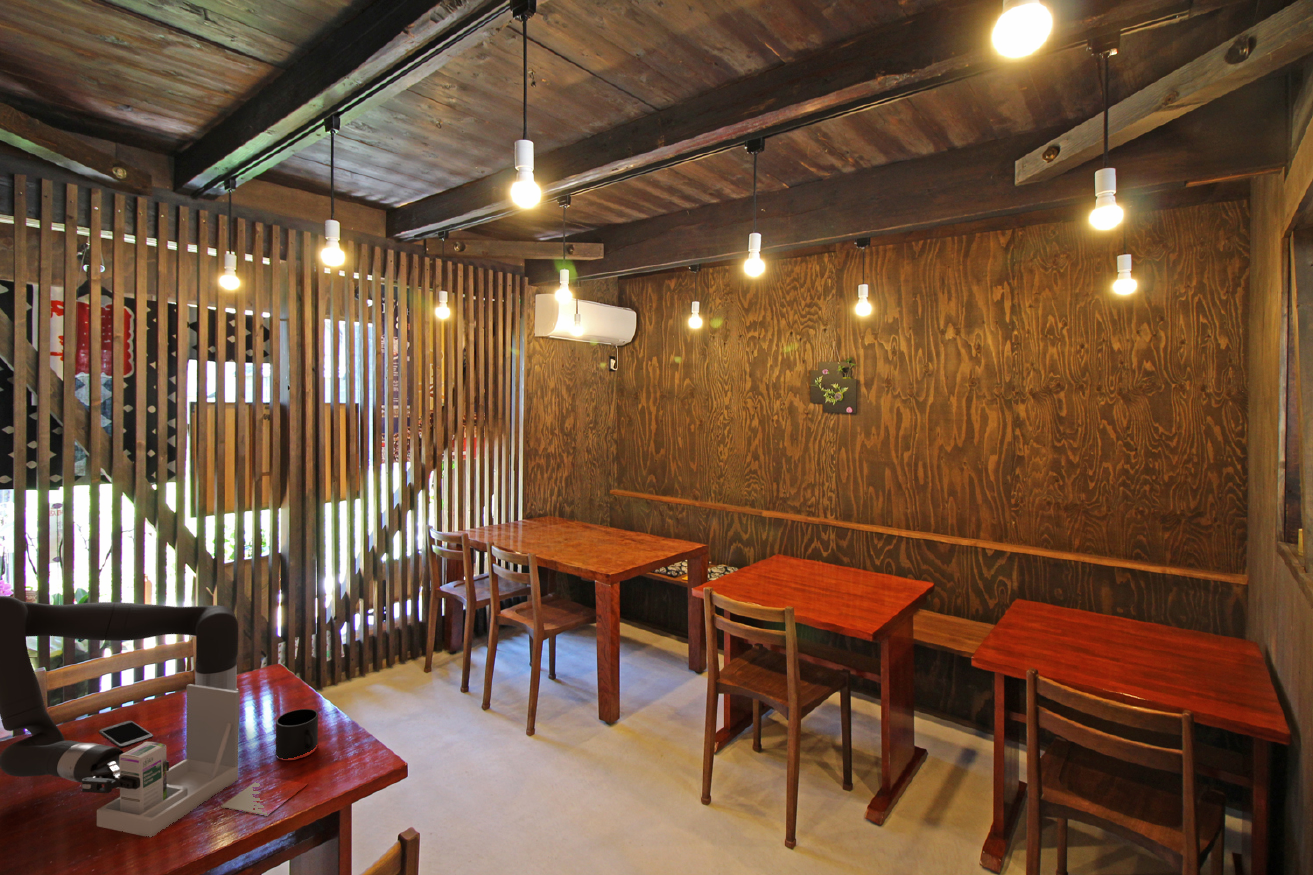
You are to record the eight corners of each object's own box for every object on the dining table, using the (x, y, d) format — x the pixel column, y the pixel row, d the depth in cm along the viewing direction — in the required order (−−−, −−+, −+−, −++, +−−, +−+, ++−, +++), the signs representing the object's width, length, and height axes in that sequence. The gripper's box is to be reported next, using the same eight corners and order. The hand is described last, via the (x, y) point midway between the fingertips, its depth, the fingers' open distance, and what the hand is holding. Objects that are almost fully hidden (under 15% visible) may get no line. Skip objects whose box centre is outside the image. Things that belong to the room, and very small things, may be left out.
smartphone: (131, 721, 175) (131, 718, 174) (155, 737, 167) (155, 734, 167) (97, 733, 168) (97, 729, 168) (120, 750, 160) (120, 746, 160)
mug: (293, 769, 154) (294, 733, 154) (268, 753, 161) (268, 719, 160) (330, 752, 162) (331, 718, 162) (305, 738, 169) (305, 705, 168)
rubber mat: (264, 776, 151) (264, 775, 151) (308, 784, 148) (308, 783, 148) (220, 807, 139) (220, 805, 139) (267, 816, 137) (267, 814, 136)
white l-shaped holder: (189, 770, 152) (189, 683, 151) (238, 779, 149) (238, 691, 148) (96, 825, 132) (96, 725, 131) (151, 837, 129) (151, 734, 128)
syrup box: (141, 824, 132) (141, 757, 132) (118, 819, 134) (118, 753, 133) (167, 808, 138) (167, 743, 137) (145, 803, 139) (145, 739, 139)
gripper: (53, 764, 131) (118, 777, 128) (124, 730, 145) (185, 741, 142) (53, 799, 131) (118, 812, 128) (124, 762, 146) (184, 773, 142)
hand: (153, 775), depth 135 cm, fingers closed on syrup box, 5 cm apart
